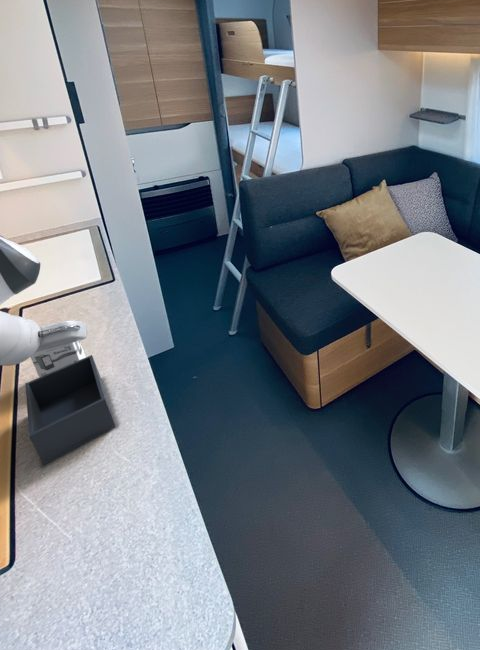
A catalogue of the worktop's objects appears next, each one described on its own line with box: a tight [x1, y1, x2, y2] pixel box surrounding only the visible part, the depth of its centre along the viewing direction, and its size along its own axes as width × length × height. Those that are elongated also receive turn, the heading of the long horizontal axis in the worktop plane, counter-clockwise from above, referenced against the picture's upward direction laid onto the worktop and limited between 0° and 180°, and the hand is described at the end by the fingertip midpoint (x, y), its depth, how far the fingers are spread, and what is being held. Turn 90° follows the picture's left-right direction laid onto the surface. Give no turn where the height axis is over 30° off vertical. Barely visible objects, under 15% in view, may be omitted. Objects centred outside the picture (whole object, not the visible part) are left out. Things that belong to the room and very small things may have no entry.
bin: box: [24, 354, 116, 465], centre depth 86 cm, size 16×12×8 cm
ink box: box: [30, 341, 87, 378], centre depth 97 cm, size 9×5×12 cm, turn 117°
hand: (42, 346), depth 91 cm, fingers open, 8 cm apart
